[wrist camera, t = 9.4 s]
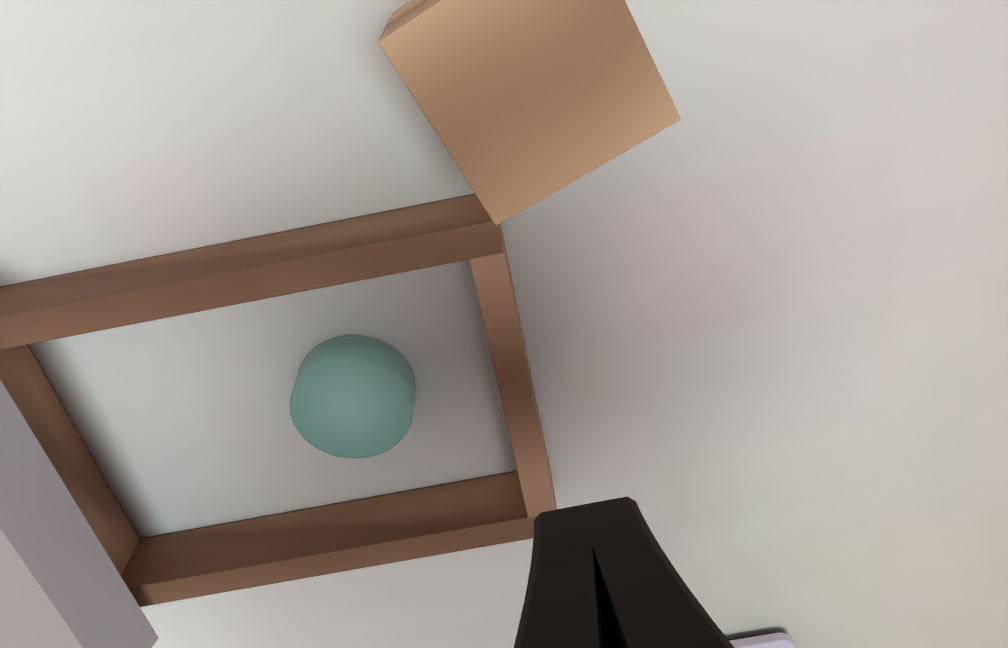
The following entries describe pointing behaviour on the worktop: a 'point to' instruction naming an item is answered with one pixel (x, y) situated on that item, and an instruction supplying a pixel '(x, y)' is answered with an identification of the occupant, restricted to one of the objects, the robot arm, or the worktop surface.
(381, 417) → the teal disc
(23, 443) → the lid
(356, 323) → the worktop surface
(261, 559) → the frame
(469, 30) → the beech block
